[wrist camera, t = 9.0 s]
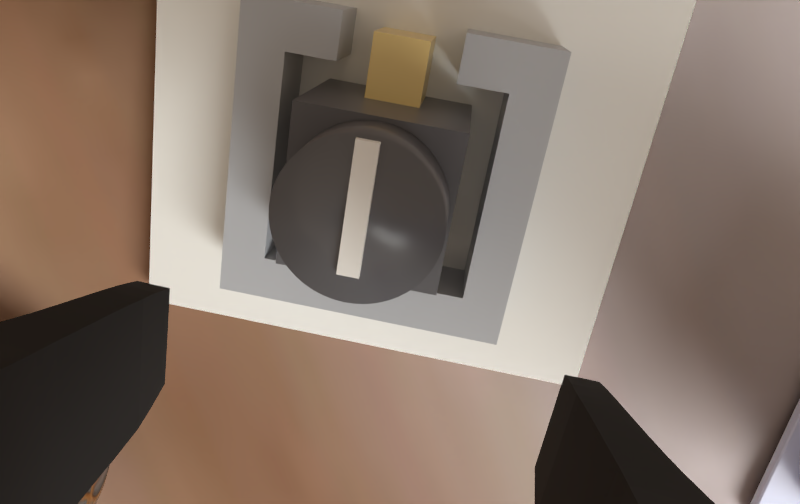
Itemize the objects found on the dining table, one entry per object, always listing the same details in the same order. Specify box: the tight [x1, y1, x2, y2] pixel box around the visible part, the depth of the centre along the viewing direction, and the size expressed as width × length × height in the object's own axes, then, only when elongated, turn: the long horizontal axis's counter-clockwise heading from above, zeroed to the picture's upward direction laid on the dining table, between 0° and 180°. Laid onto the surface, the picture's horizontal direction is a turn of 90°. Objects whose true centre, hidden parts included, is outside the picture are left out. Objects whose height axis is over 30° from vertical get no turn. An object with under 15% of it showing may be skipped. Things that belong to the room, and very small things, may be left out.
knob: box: [269, 27, 472, 304], centre depth 16 cm, size 6×4×6 cm
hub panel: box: [149, 0, 697, 385], centre depth 19 cm, size 14×12×3 cm
